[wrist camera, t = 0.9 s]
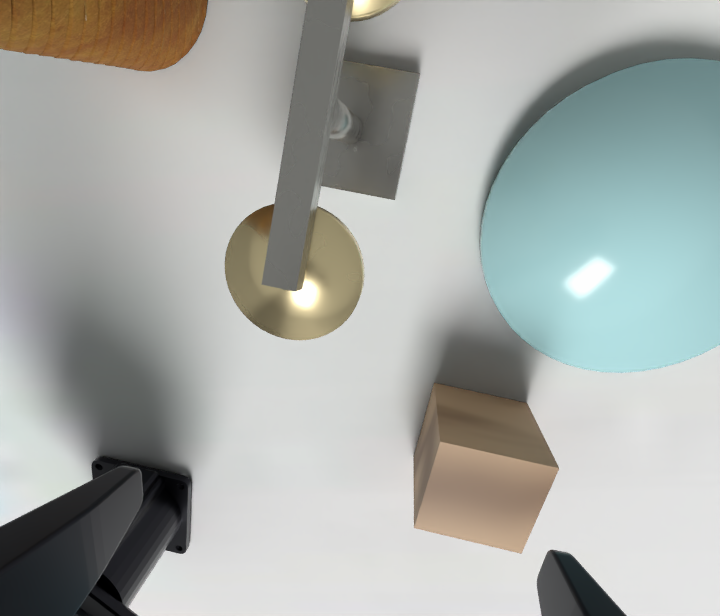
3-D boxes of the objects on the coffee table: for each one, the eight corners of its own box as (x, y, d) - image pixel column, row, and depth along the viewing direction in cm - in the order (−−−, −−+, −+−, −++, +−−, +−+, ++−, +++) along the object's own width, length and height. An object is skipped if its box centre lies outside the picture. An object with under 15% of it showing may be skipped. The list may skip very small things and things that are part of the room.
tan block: (498, 474, 23) (521, 553, 18) (413, 455, 23) (414, 527, 19) (526, 402, 21) (559, 468, 16) (434, 381, 21) (440, 441, 17)
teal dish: (708, 387, 20) (723, 398, 19) (448, 332, 20) (449, 340, 19) (872, 96, 15) (901, 91, 14) (529, 39, 16) (537, 30, 15)
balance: (376, 289, 20) (352, 375, 12) (280, 269, 20) (191, 339, 12) (445, -55, 15) (488, -323, 7) (318, -75, 15) (212, -357, 7)
